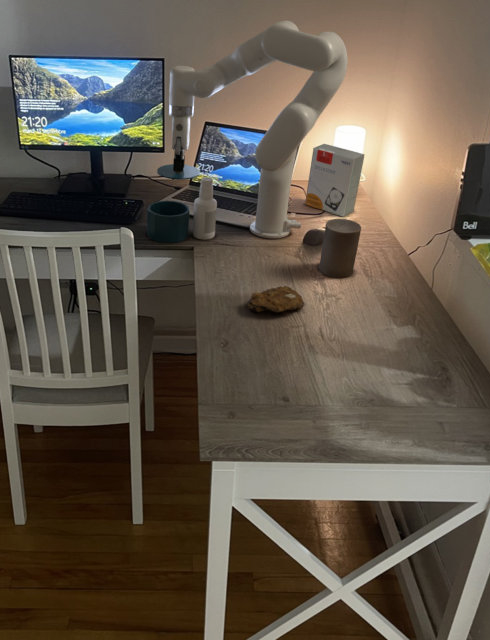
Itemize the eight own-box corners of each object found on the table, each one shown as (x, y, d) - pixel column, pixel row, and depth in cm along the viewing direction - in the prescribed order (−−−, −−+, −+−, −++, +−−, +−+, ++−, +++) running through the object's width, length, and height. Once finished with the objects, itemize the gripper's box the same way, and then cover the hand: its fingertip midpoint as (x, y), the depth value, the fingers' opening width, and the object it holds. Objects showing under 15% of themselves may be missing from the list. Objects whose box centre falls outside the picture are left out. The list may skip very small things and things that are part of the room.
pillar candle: (359, 270, 193) (369, 221, 185) (341, 281, 187) (350, 231, 179) (330, 259, 198) (338, 211, 190) (311, 269, 192) (319, 220, 184)
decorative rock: (264, 326, 166) (310, 313, 173) (267, 312, 164) (313, 299, 171) (237, 303, 174) (282, 292, 181) (239, 289, 171) (285, 278, 179)
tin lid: (200, 168, 222) (202, 150, 219) (198, 183, 211) (199, 163, 207) (159, 166, 223) (160, 147, 219) (154, 180, 211) (155, 160, 208)
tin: (189, 227, 215) (190, 202, 210) (186, 244, 204) (187, 217, 199) (150, 225, 215) (150, 199, 211) (145, 241, 205) (145, 214, 200)
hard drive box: (303, 205, 235) (311, 147, 224) (315, 199, 239) (323, 142, 229) (343, 217, 226) (354, 158, 215) (355, 211, 231) (365, 153, 220)
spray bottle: (214, 240, 207) (218, 183, 197) (192, 239, 207) (195, 182, 197) (214, 231, 213) (218, 175, 203) (192, 230, 213) (195, 174, 203)
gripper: (191, 118, 199) (188, 178, 209) (195, 104, 213) (192, 162, 222) (166, 116, 199) (164, 177, 209) (171, 102, 213) (169, 160, 223)
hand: (178, 168), depth 216 cm, fingers closed on tin lid, 3 cm apart
